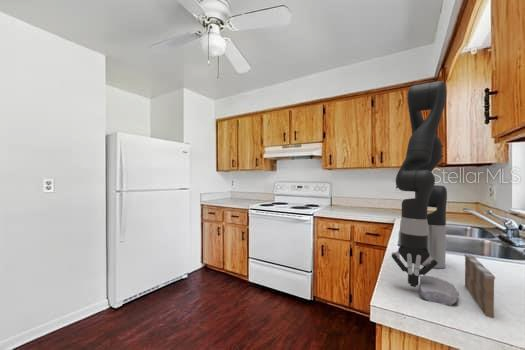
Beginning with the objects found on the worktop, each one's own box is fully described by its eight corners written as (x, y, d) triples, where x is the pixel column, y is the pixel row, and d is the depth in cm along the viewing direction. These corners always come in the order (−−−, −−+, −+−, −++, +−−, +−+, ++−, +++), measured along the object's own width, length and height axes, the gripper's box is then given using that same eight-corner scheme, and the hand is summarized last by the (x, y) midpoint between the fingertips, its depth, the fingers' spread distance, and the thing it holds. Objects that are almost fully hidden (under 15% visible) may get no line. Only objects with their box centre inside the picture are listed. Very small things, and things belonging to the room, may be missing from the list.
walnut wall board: (464, 285, 80) (464, 253, 80) (471, 286, 79) (471, 254, 79) (485, 315, 63) (485, 275, 63) (494, 317, 62) (494, 276, 62)
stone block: (452, 297, 76) (416, 283, 81) (457, 283, 75) (420, 270, 80) (459, 317, 66) (417, 300, 71) (464, 301, 65) (421, 285, 70)
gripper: (437, 232, 76) (436, 286, 76) (390, 227, 83) (389, 276, 83) (441, 237, 70) (440, 296, 70) (390, 231, 76) (389, 285, 76)
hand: (412, 285), depth 76 cm, fingers closed
